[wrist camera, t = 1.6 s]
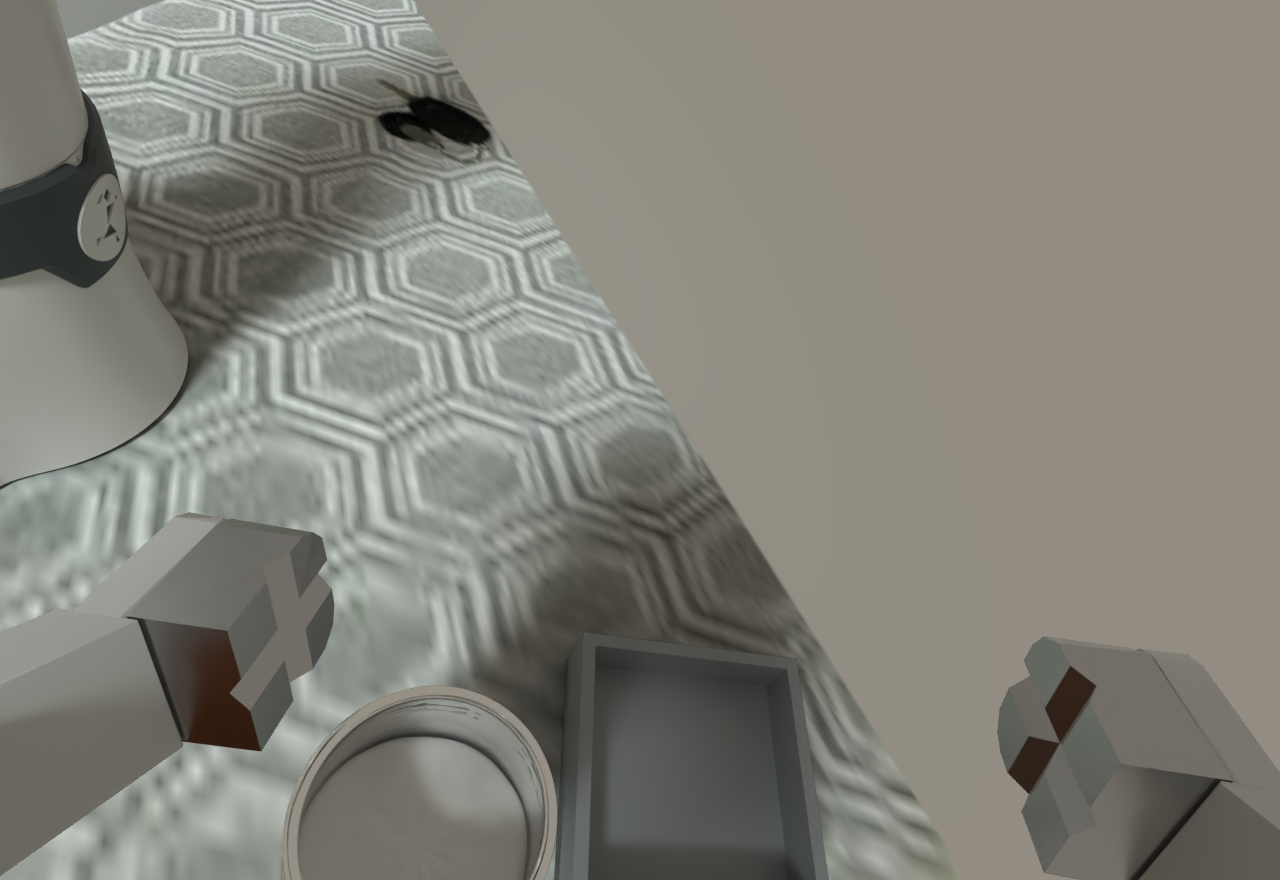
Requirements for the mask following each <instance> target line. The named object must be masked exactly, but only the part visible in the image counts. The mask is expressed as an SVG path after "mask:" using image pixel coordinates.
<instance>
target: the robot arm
mask: <svg viewBox="0 0 1280 880" xmlns="http://www.w3.org/2000/svg"><path fill="white" fill-rule="evenodd" d="M187 365H188V349H187V344H186V340H185V337H184V335H183V332H182V330H181V328H180V327H179V325H178V324H177V322H176V321H175V319H174V318H173V317H172V315H171V314H170V313H169V312H168V310H167V309H166V308H165V306H164V305H163V303H162V302H161V300H160V299H159V297H158V296H157V294H156V293H155V291H154V289H153V287H152V286H151V284H150V282H149V280H148V279H147V277H146V275H145V273H144V271H143V269H142V267H141V265H140V263H139V261H138V258H137V256H136V254H135V252H134V250H133V247H132V245H131V243H130V240H129V238H128V227H127V220H126V212H125V207H124V202H123V197H122V192H121V188H120V184H119V180H118V177H117V173H116V169H115V165H114V162H113V158H112V154H111V151H110V148H109V144H108V141H107V138H106V135H105V131H104V128H103V125H102V122H101V119H100V116H99V113H98V111H97V109H96V107H95V105H94V104H93V102H92V101H91V99H90V98H89V97H88V96H87V95H86V94H85V93H84V92H83V91H82V90H81V89H80V85H79V82H78V78H77V75H76V71H75V67H74V64H73V60H72V56H71V53H70V49H69V45H68V42H67V38H66V35H65V31H64V27H63V24H62V20H61V16H60V13H59V9H58V6H57V2H56V0H0V486H2V485H3V484H5V483H8V482H11V481H14V480H17V479H20V478H23V477H27V476H30V475H35V474H39V473H43V472H47V471H51V470H55V469H59V468H63V467H66V466H70V465H73V464H76V463H79V462H82V461H85V460H87V459H90V458H92V457H95V456H98V455H100V454H102V453H104V452H106V451H109V450H111V449H113V448H115V447H117V446H118V445H120V444H122V443H124V442H126V441H127V440H129V439H131V438H132V437H134V436H135V435H137V434H138V433H140V432H141V431H142V430H144V429H145V428H146V427H148V426H149V425H150V424H151V423H152V422H154V421H155V420H156V419H157V418H158V417H159V416H160V415H161V414H162V413H163V412H164V411H165V410H166V408H167V407H168V406H169V405H170V404H171V402H172V401H173V399H174V398H175V397H176V395H177V393H178V392H179V390H180V388H181V386H182V383H183V381H184V378H185V375H186V371H187ZM326 561H327V558H326V553H325V549H324V544H323V540H322V537H320V536H318V535H317V534H315V533H313V532H308V531H302V530H296V529H290V528H284V527H278V526H272V525H266V524H260V523H254V522H248V521H242V520H236V519H224V518H218V517H213V516H207V515H201V514H195V513H190V512H189V513H186V514H183V515H179V516H176V517H174V518H173V519H172V520H170V521H169V522H168V523H167V524H166V525H165V526H164V527H163V528H162V529H161V530H160V531H159V532H157V533H156V534H155V535H154V536H153V537H152V538H151V539H150V540H149V541H148V542H147V543H146V544H144V545H143V546H142V547H141V548H140V549H139V550H138V551H137V552H136V553H135V554H134V555H133V556H131V557H130V558H129V559H128V560H127V561H126V562H125V563H124V564H123V565H122V566H121V567H120V568H118V569H117V570H116V571H115V572H114V573H113V574H112V575H111V576H110V577H109V578H108V579H107V580H105V581H104V582H103V583H102V584H101V585H100V586H99V587H98V588H97V589H96V590H95V591H94V592H92V593H91V594H90V595H89V596H88V597H87V598H86V599H85V600H84V601H83V602H82V603H81V604H79V605H78V606H77V607H76V608H75V609H74V610H67V609H59V608H58V609H56V610H54V611H51V612H49V613H46V614H44V615H41V616H39V617H37V618H34V619H32V620H29V621H27V622H24V623H22V624H20V625H17V626H15V627H12V628H10V629H7V630H5V631H3V632H0V876H1V875H2V874H4V873H5V872H7V871H8V870H9V869H11V868H12V867H14V866H15V865H17V864H18V863H19V862H21V861H22V860H24V859H25V858H26V857H28V856H29V855H31V854H32V853H33V852H35V851H36V850H38V849H39V848H41V847H42V846H43V845H45V844H46V843H48V842H49V841H50V840H52V839H53V838H55V837H56V836H57V835H59V834H60V833H62V832H63V831H65V830H66V829H67V828H69V827H70V826H72V825H73V824H74V823H76V822H77V821H79V820H80V819H81V818H83V817H84V816H86V815H87V814H89V813H90V812H91V811H93V810H94V809H96V808H97V807H98V806H100V805H101V804H103V803H104V802H105V801H107V800H108V799H110V798H111V797H113V796H114V795H115V794H117V793H118V792H120V791H121V790H122V789H124V788H125V787H127V786H128V785H129V784H131V783H132V782H134V781H135V780H137V779H138V778H139V777H141V776H142V775H144V774H145V773H146V772H148V771H149V770H151V769H152V768H153V767H155V766H156V765H158V764H159V763H161V762H162V761H163V760H165V759H166V758H168V757H169V756H170V755H172V754H173V753H175V752H176V751H177V750H179V749H180V748H182V747H183V742H190V743H197V744H205V745H213V746H221V747H229V748H237V749H245V750H253V751H262V749H263V748H264V746H265V745H266V743H267V741H268V740H269V738H270V737H271V735H272V734H273V732H274V730H275V729H276V727H277V726H278V724H279V722H280V721H281V719H282V718H283V716H284V714H285V713H286V711H287V710H288V708H289V706H290V705H291V703H292V702H293V697H292V691H291V686H290V682H291V681H293V680H295V679H296V678H298V677H300V676H301V675H303V674H305V673H307V672H308V671H310V670H312V669H313V668H314V666H315V664H316V663H317V661H318V659H319V658H320V656H321V654H322V653H323V651H324V649H325V647H326V644H327V641H328V638H329V635H330V631H331V628H332V625H333V616H334V600H333V593H332V589H331V588H330V586H329V585H328V584H327V583H326V582H325V581H324V580H323V579H322V578H321V577H320V576H319V575H318V574H317V573H318V572H319V571H320V569H321V568H322V566H323V565H324V563H325V562H326ZM1024 662H1025V664H1026V667H1027V669H1028V671H1029V674H1030V677H1028V678H1026V679H1024V680H1023V681H1021V682H1019V683H1017V684H1015V685H1013V686H1012V687H1010V688H1009V689H1008V692H1007V694H1006V696H1005V698H1004V700H1003V702H1002V705H1001V707H1000V710H999V721H998V731H997V733H998V740H999V746H1000V752H1001V755H1002V758H1003V761H1004V764H1005V767H1006V770H1007V773H1008V774H1009V775H1010V776H1011V777H1012V778H1013V779H1014V780H1015V781H1016V782H1017V783H1018V784H1019V785H1020V786H1021V787H1022V788H1023V789H1024V790H1025V791H1026V792H1027V793H1028V794H1029V795H1028V797H1027V800H1026V802H1025V804H1024V807H1023V809H1022V814H1023V817H1024V820H1025V822H1026V825H1027V828H1028V830H1029V833H1030V836H1031V839H1032V841H1033V844H1034V847H1035V849H1036V852H1037V855H1038V857H1039V860H1040V863H1041V866H1042V869H1043V871H1044V873H1046V874H1052V875H1057V876H1062V877H1068V878H1074V879H1079V880H1280V772H1279V771H1278V770H1277V768H1276V767H1275V765H1274V764H1273V763H1272V761H1271V760H1270V758H1269V757H1268V756H1267V754H1266V753H1265V751H1264V750H1263V749H1262V747H1261V746H1260V745H1259V743H1258V742H1257V740H1256V739H1255V738H1254V736H1253V735H1252V733H1251V732H1250V731H1249V729H1248V728H1247V726H1246V725H1245V724H1244V722H1243V721H1242V720H1241V718H1240V717H1239V715H1238V714H1237V713H1236V711H1235V710H1234V708H1233V707H1232V706H1231V704H1230V703H1229V701H1228V700H1227V699H1226V697H1225V696H1224V695H1223V693H1222V692H1221V690H1220V689H1219V688H1218V686H1217V685H1216V683H1215V682H1214V681H1213V679H1212V678H1211V676H1210V675H1209V674H1208V672H1207V671H1206V670H1205V668H1204V667H1203V666H1202V665H1201V664H1200V663H1199V662H1197V661H1196V660H1194V659H1193V658H1191V657H1190V656H1188V655H1184V654H1176V653H1168V652H1160V651H1152V650H1145V649H1136V650H1135V649H1131V648H1125V647H1118V646H1110V645H1103V644H1095V643H1088V642H1081V641H1073V640H1066V639H1058V638H1051V637H1042V638H1041V639H1040V640H1038V641H1037V642H1036V643H1034V644H1033V645H1032V647H1031V648H1030V650H1029V652H1028V654H1027V656H1026V658H1025V659H1024Z"/></svg>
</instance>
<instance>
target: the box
mask: <svg viewBox="0 0 1280 880" xmlns="http://www.w3.org/2000/svg"><path fill="white" fill-rule="evenodd" d="M554 880H829V878H828V872H827V865H826V858H825V851H824V844H823V837H822V831H821V824H820V817H819V810H818V803H817V796H816V790H815V783H814V776H813V769H812V762H811V755H810V748H809V742H808V735H807V728H806V721H805V714H804V707H803V701H802V694H801V687H800V680H799V673H798V666H797V659H794V658H787V657H779V656H771V655H763V654H755V653H747V652H739V651H731V650H723V649H715V648H707V647H699V646H691V645H683V644H675V643H667V642H659V641H651V640H643V639H635V638H627V637H619V636H611V635H603V634H595V633H587V632H584V633H583V634H582V636H581V638H580V639H579V641H578V643H577V644H576V646H575V647H574V649H573V651H572V652H571V654H570V656H569V657H568V659H567V669H566V686H565V703H564V721H563V738H562V755H561V772H560V790H559V807H558V824H557V842H556V859H555V876H554Z"/></svg>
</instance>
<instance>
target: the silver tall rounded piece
mask: <svg viewBox="0 0 1280 880" xmlns="http://www.w3.org/2000/svg"><path fill="white" fill-rule="evenodd" d="M556 832H557V799H556V791H555V786H554V781H553V777H552V774H551V771H550V767H549V765H548V762H547V760H546V757H545V755H544V753H543V751H542V749H541V747H540V746H539V744H538V742H537V741H536V739H535V737H534V736H533V735H532V733H531V732H530V731H529V729H528V728H527V727H526V726H525V725H524V724H523V723H522V721H521V720H520V719H519V718H517V717H516V716H515V715H514V714H513V713H512V712H511V711H509V710H508V709H507V708H505V707H504V706H502V705H501V704H499V703H498V702H496V701H494V700H492V699H490V698H488V697H486V696H484V695H482V694H479V693H476V692H473V691H470V690H467V689H462V688H457V687H450V686H422V687H415V688H410V689H405V690H401V691H398V692H394V693H391V694H389V695H386V696H384V697H381V698H379V699H377V700H375V701H373V702H371V703H369V704H367V705H365V706H364V707H362V708H361V709H359V710H357V711H356V712H355V713H353V714H352V715H350V716H349V717H348V718H346V719H345V720H344V721H343V722H342V723H340V724H339V725H338V726H337V727H336V728H335V729H334V730H333V731H332V732H331V733H330V734H329V735H328V736H327V737H326V738H325V739H324V741H323V742H322V743H321V744H320V745H319V747H318V748H317V749H316V751H315V752H314V753H313V755H312V756H311V758H310V759H309V761H308V762H307V764H306V766H305V767H304V769H303V771H302V773H301V775H300V777H299V779H298V781H297V783H296V785H295V788H294V790H293V793H292V795H291V798H290V801H289V805H288V808H287V812H286V816H285V821H284V827H283V835H282V857H281V880H544V879H545V876H546V874H547V871H548V868H549V865H550V862H551V859H552V855H553V850H554V846H555V840H556Z"/></svg>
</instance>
